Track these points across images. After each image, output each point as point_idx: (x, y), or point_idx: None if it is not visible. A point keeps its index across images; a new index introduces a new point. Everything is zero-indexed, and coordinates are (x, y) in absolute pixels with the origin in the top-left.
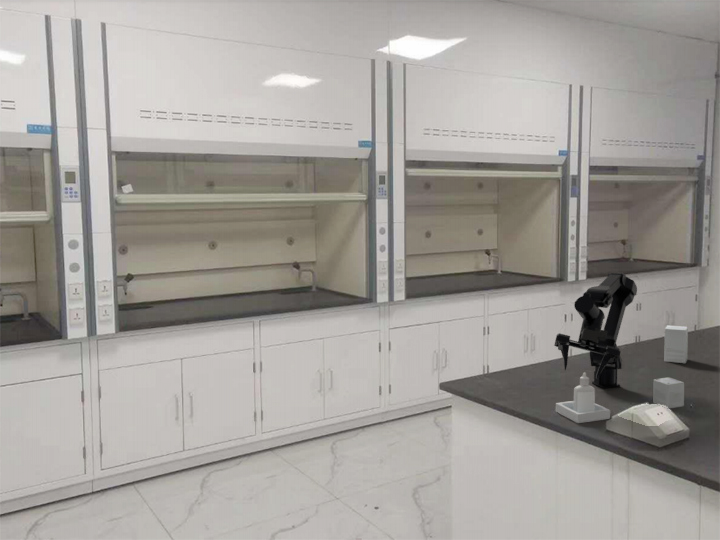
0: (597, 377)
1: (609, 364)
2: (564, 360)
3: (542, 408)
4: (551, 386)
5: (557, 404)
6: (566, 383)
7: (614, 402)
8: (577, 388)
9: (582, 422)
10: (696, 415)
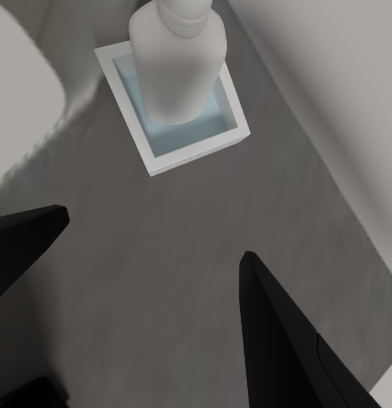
0: (57, 205)
1: None
2: (292, 302)
3: (263, 167)
4: (208, 360)
5: (246, 125)
6: (160, 401)
7: None
8: (219, 16)
9: None
10: None
